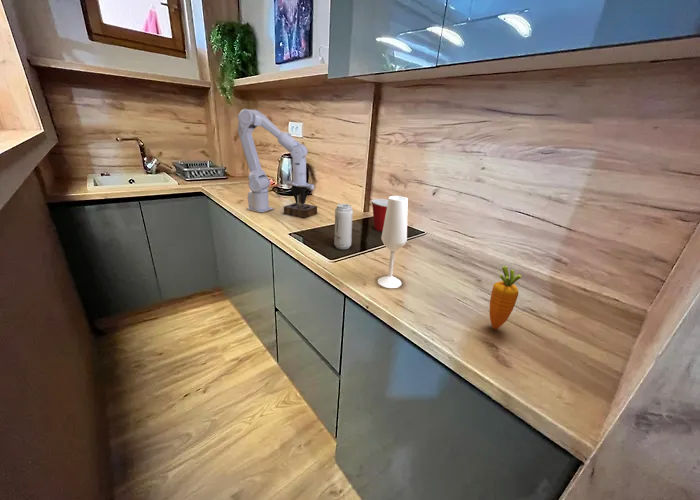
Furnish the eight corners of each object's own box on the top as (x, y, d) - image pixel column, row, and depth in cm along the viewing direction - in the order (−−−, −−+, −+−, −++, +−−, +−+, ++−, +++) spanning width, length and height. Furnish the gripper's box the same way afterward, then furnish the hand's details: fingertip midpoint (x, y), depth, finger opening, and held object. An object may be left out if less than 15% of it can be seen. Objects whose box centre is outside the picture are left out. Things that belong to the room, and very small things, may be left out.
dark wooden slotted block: (283, 213, 142) (283, 206, 140) (297, 209, 150) (296, 202, 149) (304, 218, 137) (304, 210, 135) (317, 213, 145) (317, 206, 143)
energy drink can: (332, 244, 109) (332, 203, 103) (347, 242, 111) (349, 202, 105) (337, 250, 104) (338, 208, 98) (353, 249, 106) (355, 207, 100)
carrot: (511, 335, 65) (530, 274, 60) (489, 336, 65) (506, 274, 59) (499, 321, 70) (515, 263, 64) (478, 322, 70) (493, 263, 64)
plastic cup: (396, 234, 122) (399, 205, 118) (369, 233, 122) (371, 203, 118) (393, 225, 132) (396, 198, 127) (368, 224, 132) (370, 197, 128)
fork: (297, 214, 142) (296, 195, 138) (302, 212, 145) (301, 193, 141) (299, 214, 142) (298, 195, 138) (303, 212, 144) (303, 194, 141)
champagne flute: (406, 285, 84) (417, 200, 75) (386, 290, 81) (395, 202, 72) (392, 274, 89) (400, 194, 80) (373, 279, 86) (379, 196, 77)
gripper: (281, 172, 136) (282, 202, 141) (307, 176, 129) (307, 207, 135) (291, 170, 141) (292, 199, 147) (317, 174, 135) (317, 203, 141)
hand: (300, 202), depth 141 cm, fingers open, 3 cm apart
